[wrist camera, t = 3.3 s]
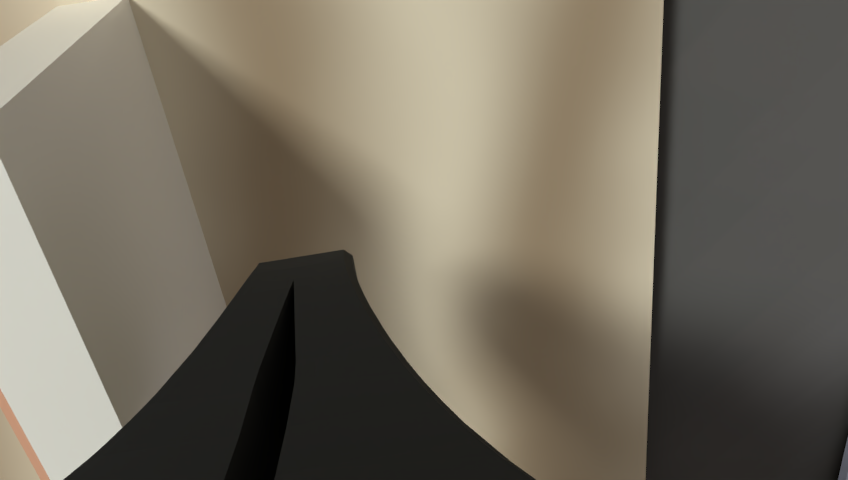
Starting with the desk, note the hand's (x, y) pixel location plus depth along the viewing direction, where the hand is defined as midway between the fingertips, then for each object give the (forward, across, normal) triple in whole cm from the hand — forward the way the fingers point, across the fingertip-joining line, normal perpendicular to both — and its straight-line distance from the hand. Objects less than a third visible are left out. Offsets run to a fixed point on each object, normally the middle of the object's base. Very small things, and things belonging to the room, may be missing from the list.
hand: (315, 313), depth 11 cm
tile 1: (+4, +3, 0) cm, 5 cm away
